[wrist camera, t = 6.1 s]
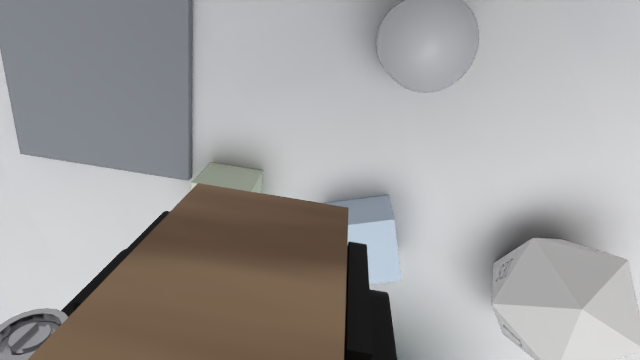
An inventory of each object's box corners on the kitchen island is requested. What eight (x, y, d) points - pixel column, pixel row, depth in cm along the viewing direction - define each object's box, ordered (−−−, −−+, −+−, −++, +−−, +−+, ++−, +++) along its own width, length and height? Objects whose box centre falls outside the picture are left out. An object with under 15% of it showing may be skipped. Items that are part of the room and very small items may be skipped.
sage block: (211, 161, 28) (190, 182, 24) (263, 170, 28) (250, 191, 24) (210, 219, 30) (190, 246, 26) (258, 226, 30) (246, 255, 26)
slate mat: (-12, -59, 23) (-21, -61, 23) (192, -28, 23) (188, -30, 22) (26, 151, 29) (20, 153, 28) (191, 177, 28) (188, 180, 28)
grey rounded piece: (384, -8, 23) (392, -16, 18) (465, 4, 23) (492, -1, 18) (369, 75, 25) (373, 85, 20) (443, 86, 24) (462, 99, 20)
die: (489, 203, 28) (465, 331, 23) (645, 209, 23) (659, 377, 18) (505, 259, 33) (488, 374, 28) (635, 275, 28) (643, 420, 23)
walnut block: (197, 183, 11) (-26, 414, 4) (348, 207, 11) (340, 478, 4) (197, 300, 13) (38, 584, 6) (326, 322, 13) (297, 634, 6)
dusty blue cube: (323, 202, 29) (319, 228, 25) (388, 194, 28) (394, 219, 24) (334, 256, 30) (331, 288, 27) (395, 249, 30) (401, 281, 26)
